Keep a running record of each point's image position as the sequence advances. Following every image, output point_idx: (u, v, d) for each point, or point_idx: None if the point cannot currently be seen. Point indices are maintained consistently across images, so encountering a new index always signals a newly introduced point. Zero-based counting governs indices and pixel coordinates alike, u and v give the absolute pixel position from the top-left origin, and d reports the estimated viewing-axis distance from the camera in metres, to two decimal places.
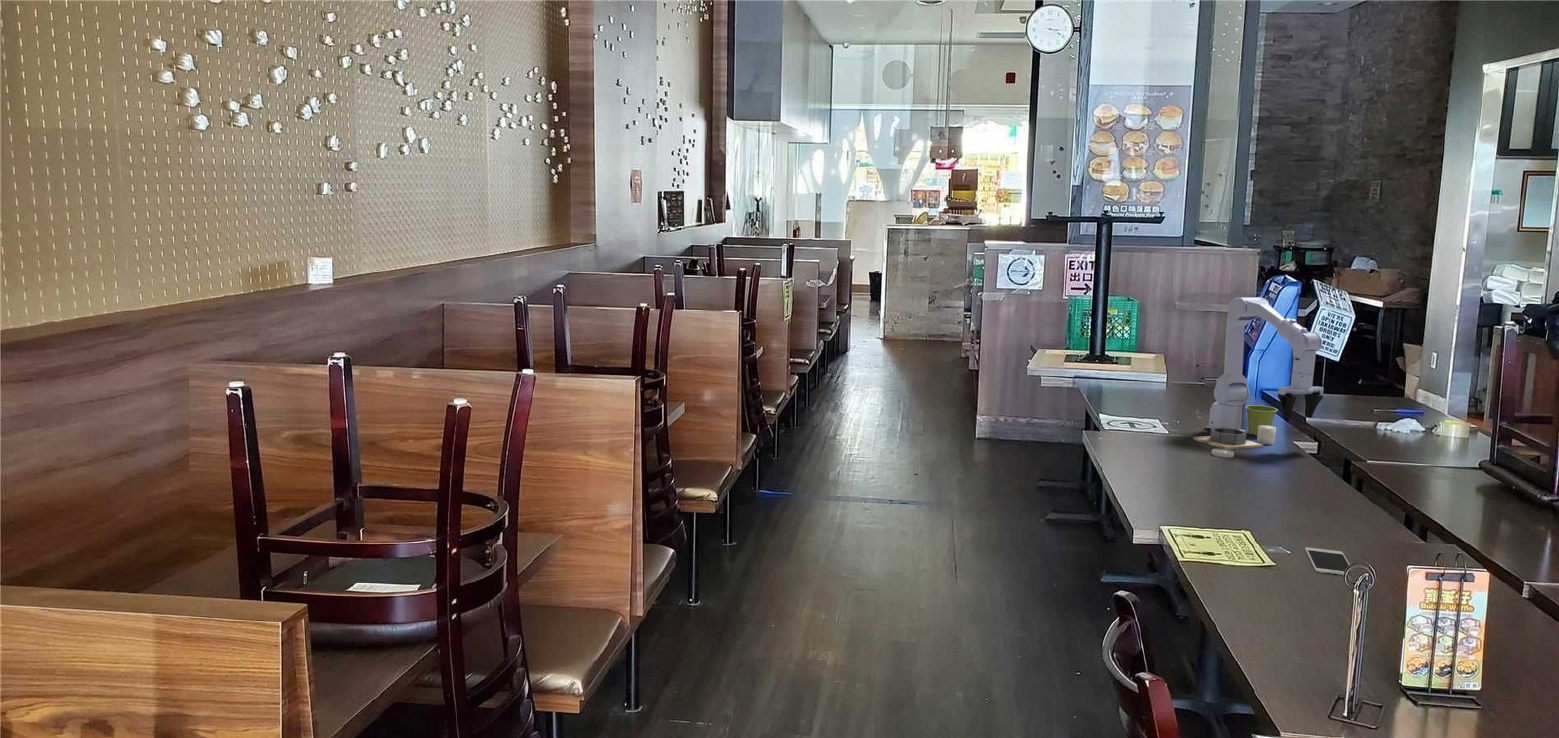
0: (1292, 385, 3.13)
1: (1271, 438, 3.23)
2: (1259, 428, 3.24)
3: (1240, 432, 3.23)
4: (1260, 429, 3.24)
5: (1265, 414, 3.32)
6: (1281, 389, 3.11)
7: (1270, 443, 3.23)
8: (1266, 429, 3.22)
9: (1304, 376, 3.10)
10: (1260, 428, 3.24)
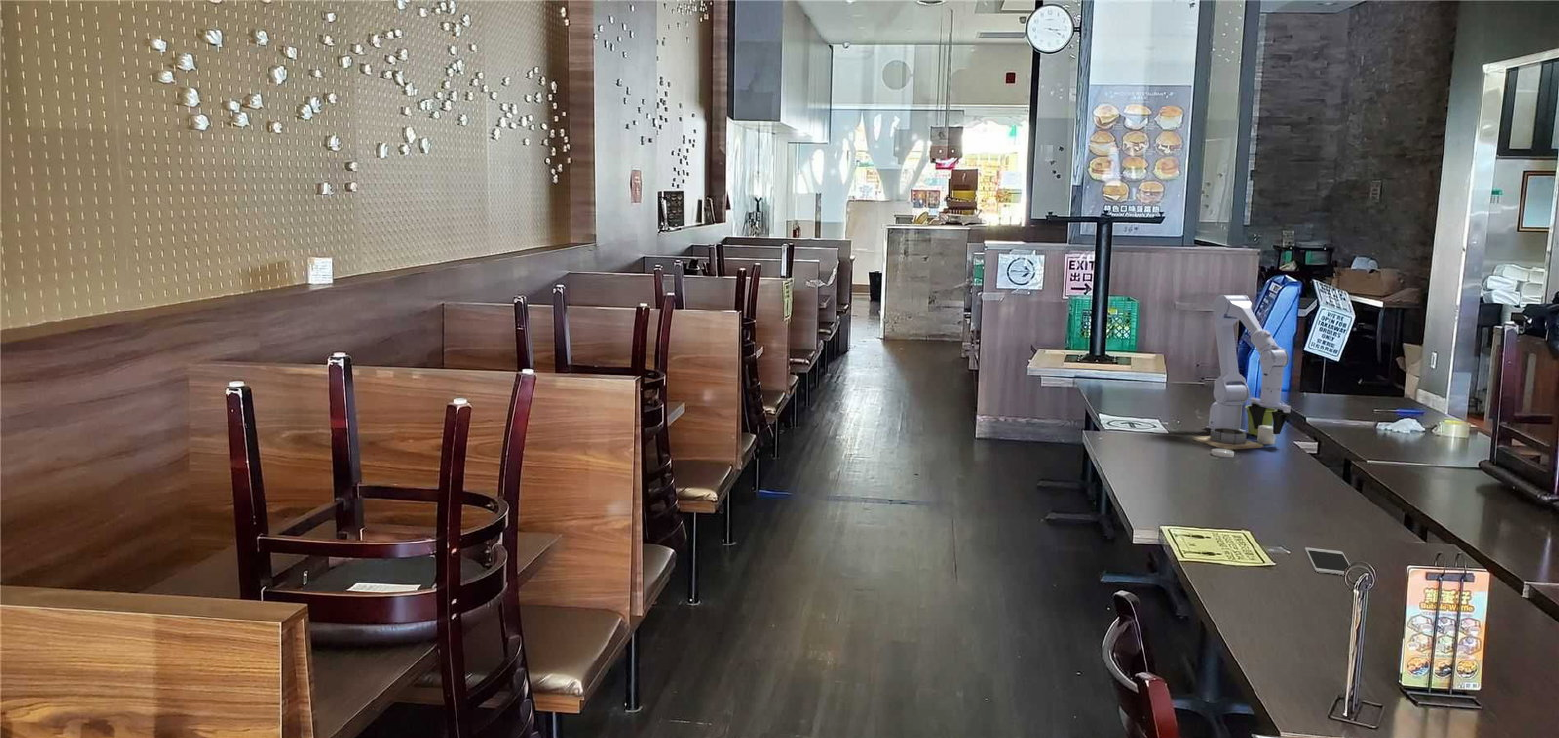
0: None
1: (1271, 438, 3.23)
2: (1259, 428, 3.24)
3: (1240, 432, 3.23)
4: (1260, 429, 3.24)
5: (1265, 414, 3.32)
6: None
7: (1270, 443, 3.23)
8: (1266, 429, 3.22)
9: (1261, 389, 3.23)
10: (1260, 428, 3.24)
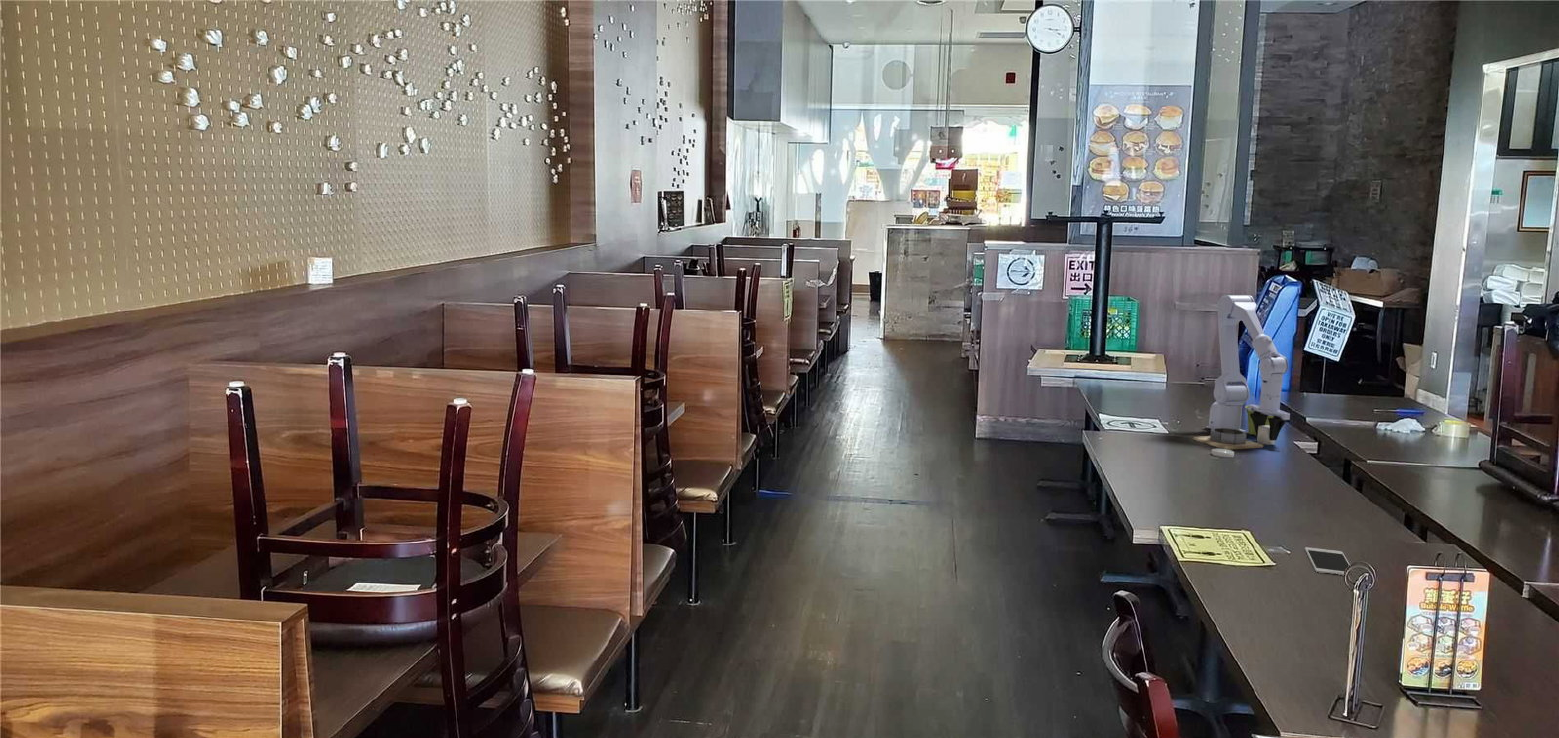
0: None
1: None
2: (1259, 428, 3.24)
3: (1240, 432, 3.23)
4: (1260, 429, 3.24)
5: None
6: None
7: (1270, 443, 3.23)
8: (1266, 429, 3.22)
9: (1260, 396, 3.24)
10: (1260, 428, 3.24)
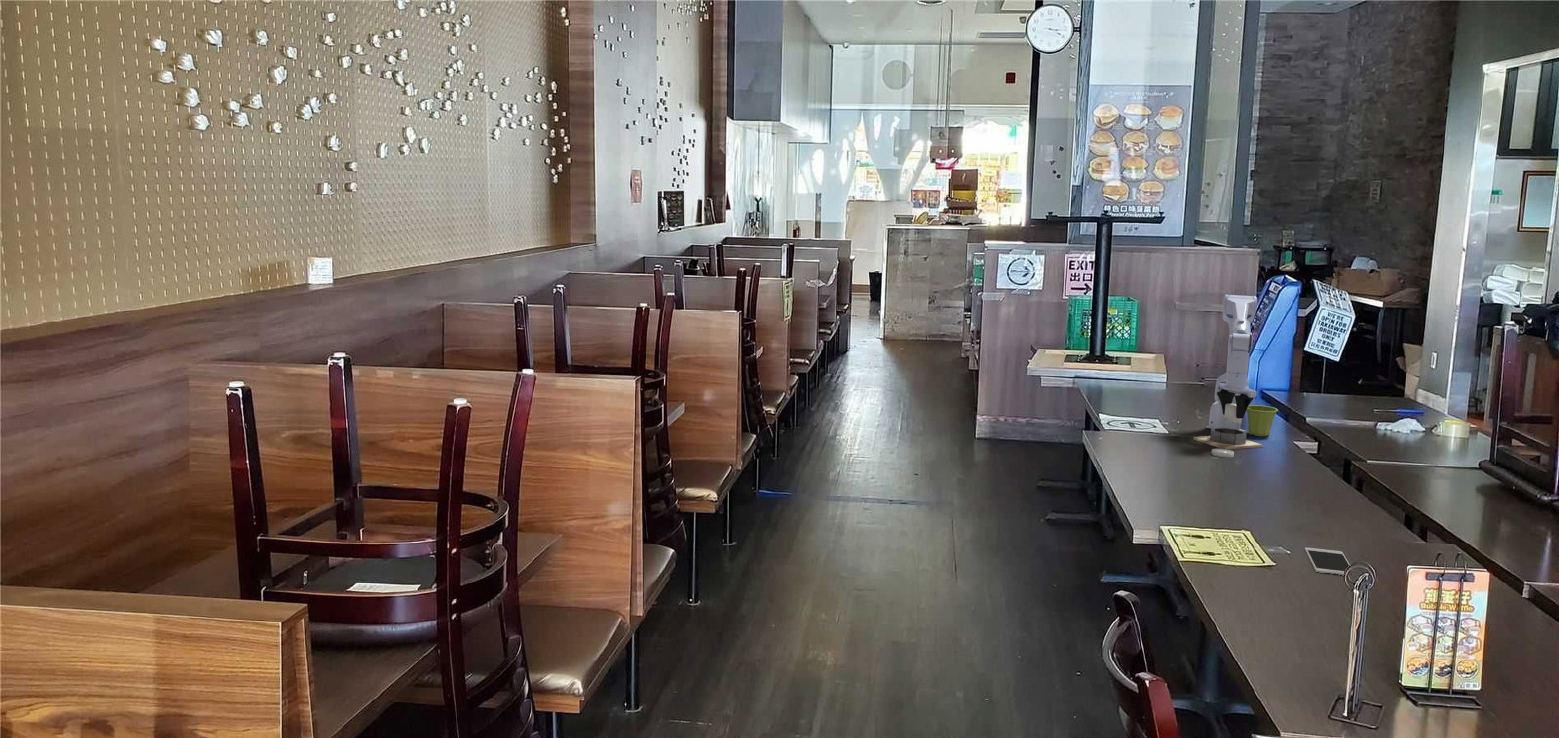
0: None
1: None
2: (1226, 406, 3.21)
3: (1240, 432, 3.23)
4: (1227, 407, 3.20)
5: (1265, 414, 3.32)
6: None
7: (1237, 421, 3.19)
8: (1233, 407, 3.19)
9: (1227, 374, 3.20)
10: (1227, 406, 3.20)
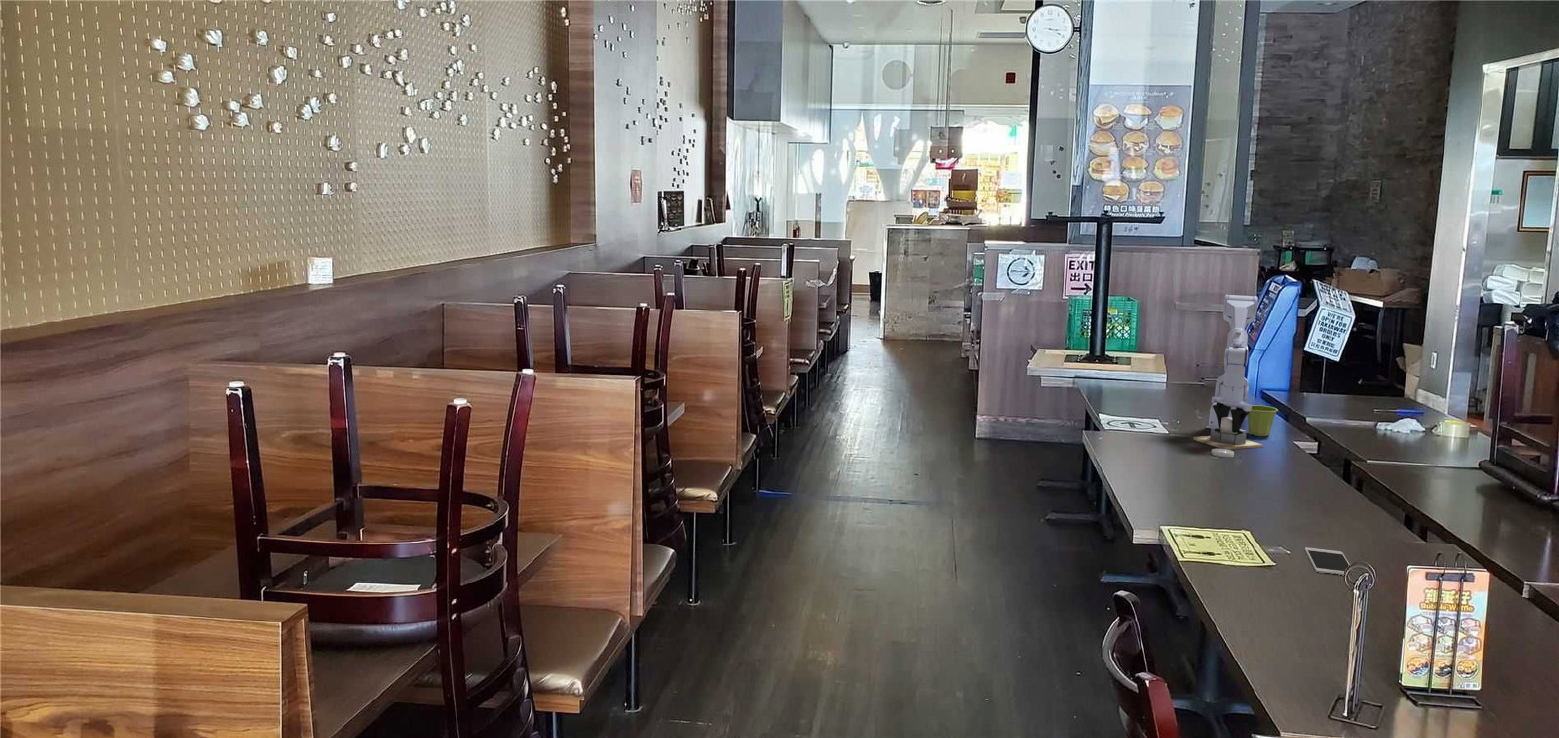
0: None
1: None
2: (1222, 420, 3.22)
3: (1240, 432, 3.23)
4: (1223, 420, 3.21)
5: (1265, 414, 3.32)
6: None
7: None
8: (1228, 420, 3.19)
9: (1223, 388, 3.21)
10: (1223, 419, 3.21)
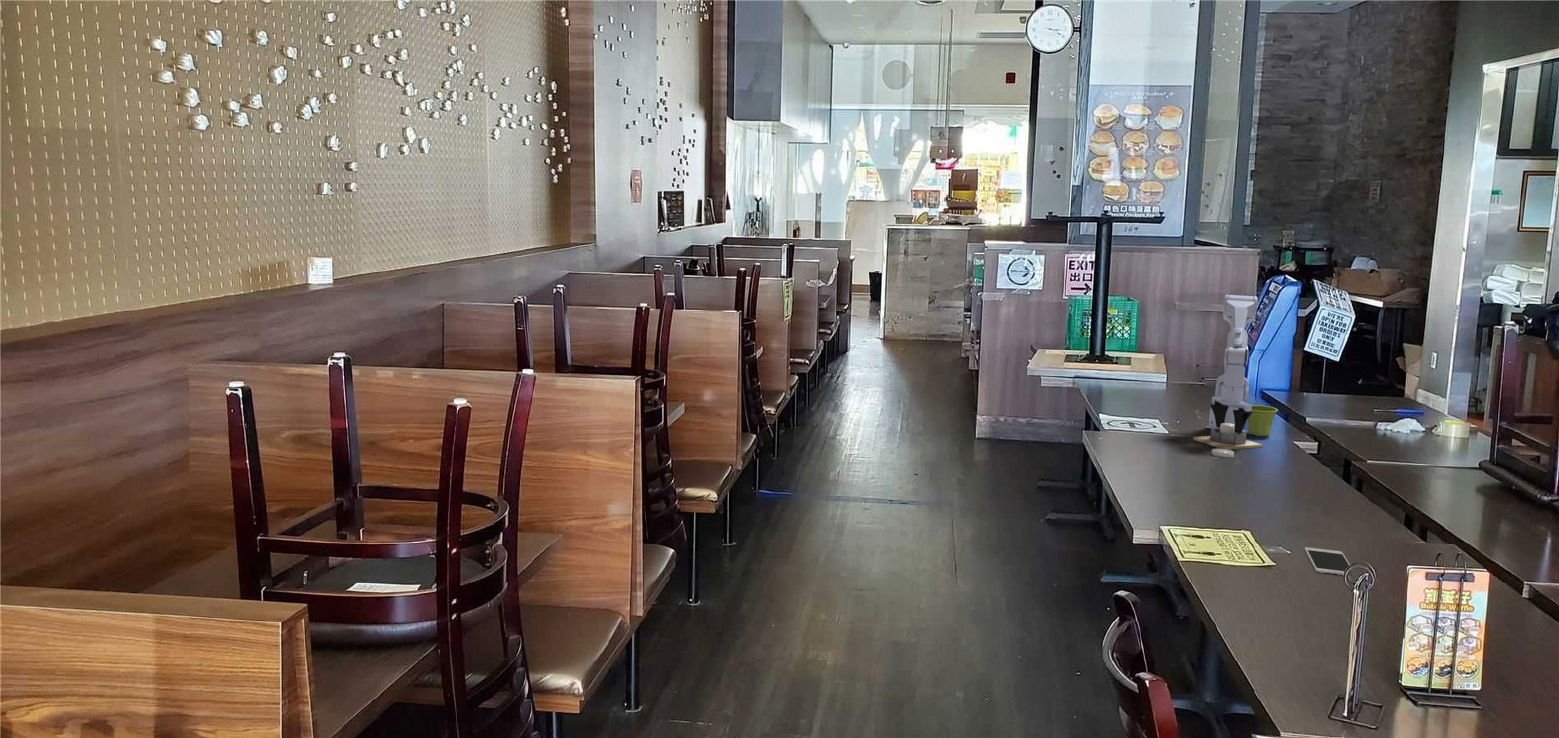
0: None
1: None
2: (1221, 426, 3.22)
3: None
4: (1222, 427, 3.21)
5: (1265, 414, 3.32)
6: None
7: None
8: (1227, 427, 3.20)
9: (1223, 388, 3.21)
10: (1222, 426, 3.21)
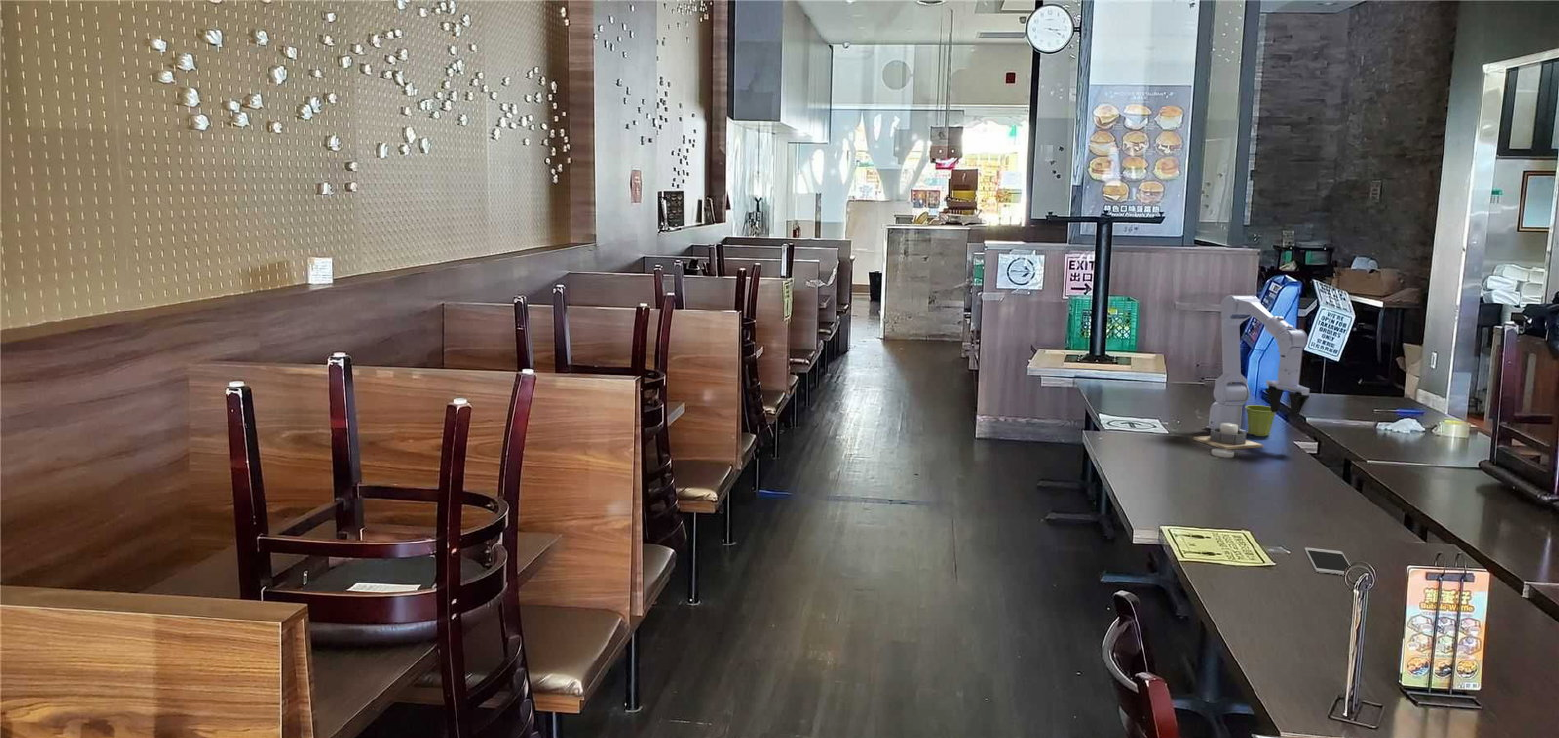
0: None
1: None
2: (1221, 426, 3.22)
3: (1240, 432, 3.23)
4: (1222, 427, 3.21)
5: (1265, 414, 3.32)
6: None
7: None
8: (1227, 426, 3.20)
9: None
10: (1222, 426, 3.21)
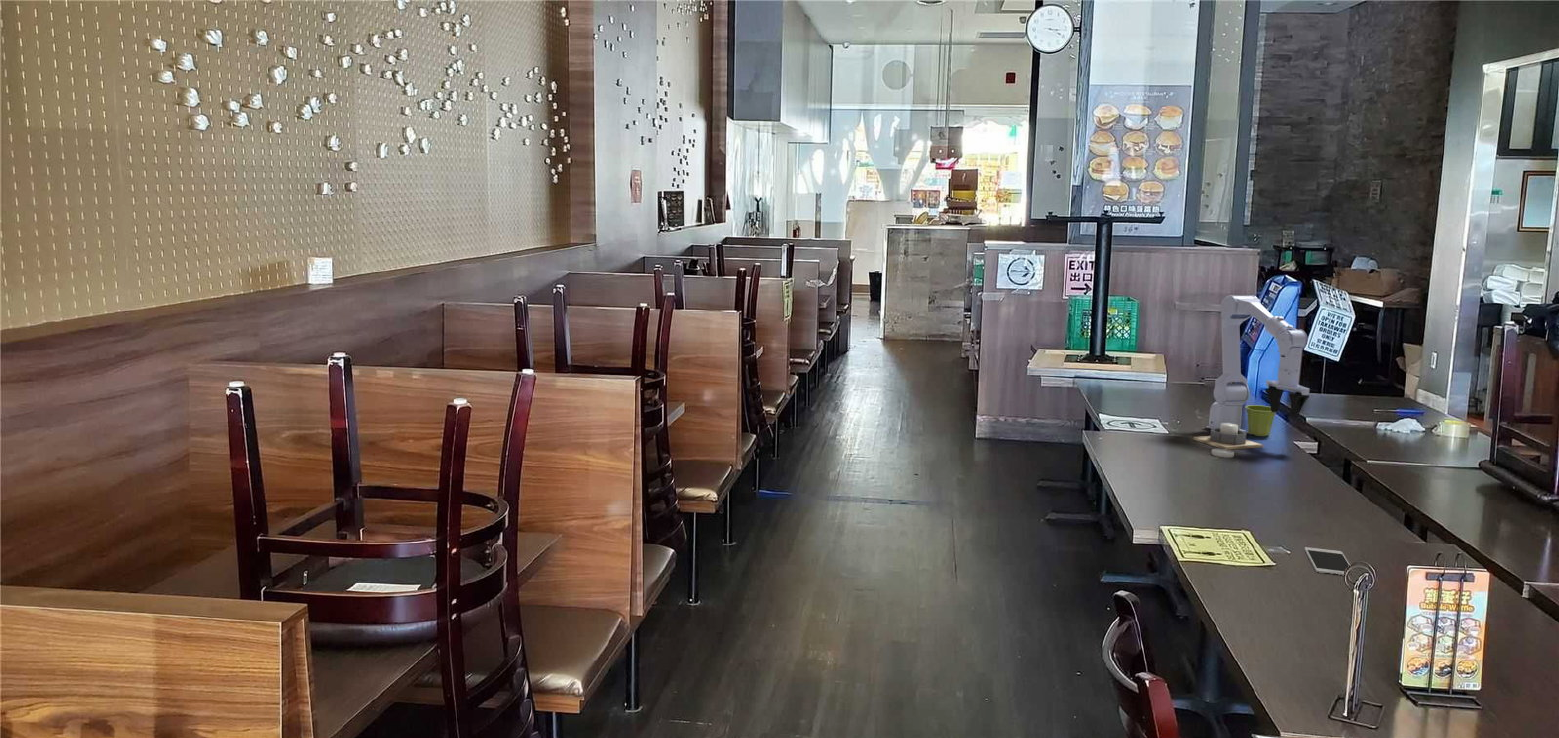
0: None
1: None
2: (1221, 426, 3.22)
3: (1240, 432, 3.23)
4: (1222, 427, 3.21)
5: (1265, 414, 3.32)
6: None
7: None
8: (1228, 427, 3.20)
9: None
10: (1222, 426, 3.21)
